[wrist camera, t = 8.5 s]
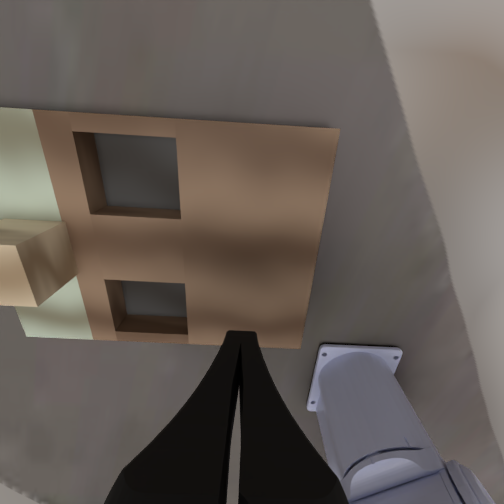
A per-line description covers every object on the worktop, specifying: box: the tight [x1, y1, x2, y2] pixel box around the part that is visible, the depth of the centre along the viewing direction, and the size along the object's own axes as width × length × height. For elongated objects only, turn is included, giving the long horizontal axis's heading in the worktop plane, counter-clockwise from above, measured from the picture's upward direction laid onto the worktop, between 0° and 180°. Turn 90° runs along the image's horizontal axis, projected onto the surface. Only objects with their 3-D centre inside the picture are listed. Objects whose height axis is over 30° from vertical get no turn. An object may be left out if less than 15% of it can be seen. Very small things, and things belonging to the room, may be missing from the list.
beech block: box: [0, 218, 79, 307], centre depth 16 cm, size 4×4×4 cm
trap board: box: [0, 107, 340, 349], centre depth 19 cm, size 17×23×2 cm
